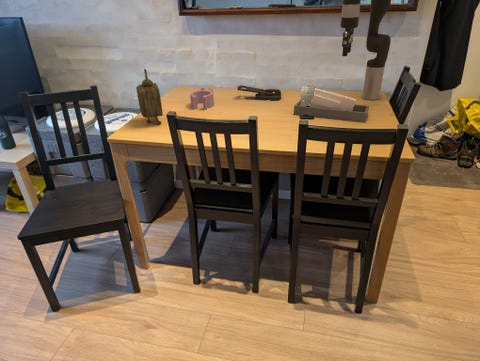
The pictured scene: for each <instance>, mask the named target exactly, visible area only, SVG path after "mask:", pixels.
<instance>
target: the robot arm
mask: <svg viewBox="0 0 480 361" xmlns="http://www.w3.org/2000/svg"><path fill="white" fill-rule="evenodd" d="M391 2H392V0H370V14H369V23H368V29H367V36H366V44H365V47H366V50H367V51H368V52H369V53H375V54H376V56H375V57H374V58H370V59H368V60H367V61H366V66H365V72H364V73H365V74H364V80H363V87H362V92H361V93H362V94H361V98H362V99H363V100H367V101H376V100H379V99H380V97H381V90H382V83H383V79H384V78H383V77H384V72H385V66H386V63H387V60H388V56H389V51H390V47H391V37H390V35H389V34H384V33H379V30H380V29H379V28H380V25H381V22H382V20H383V18H384V17H385V16H386V14H387V13H388V11H389V9H390V7H391V4H392V3H391ZM360 12H361V0H343V1H342V9H341V16H340V28H341V29H345V30H344V31H343V33H342V43H341V46H342V53H341V54H342V55H341V56H342V57H348V54H351V51H352V50H351V49H352V44H353V42H354V32H355V31H354V30H355V29H357V28H358V27H359V22H360V14H361V13H360Z"/></svg>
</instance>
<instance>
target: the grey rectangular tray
mask: <svg viewBox="0 0 480 361" xmlns="http://www.w3.org/2000/svg"><path fill="white" fill-rule="evenodd" d="M300 103H301V99H299V100H298V101H297V102H296V103H295V104H294V106H293V115H294V116H301V115H300V114H308V115H312V116H314V117H313V118H320V119H329V120H339V121H347V122H355V123H364V124H365V123H366V120H367V117H368V115H369V110H370V105H365V104H356V103H355V105H354V108H353V110H352V111H348V110H347V111H346V110H336V109H326V108H317V107H307V106H300Z"/></svg>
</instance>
